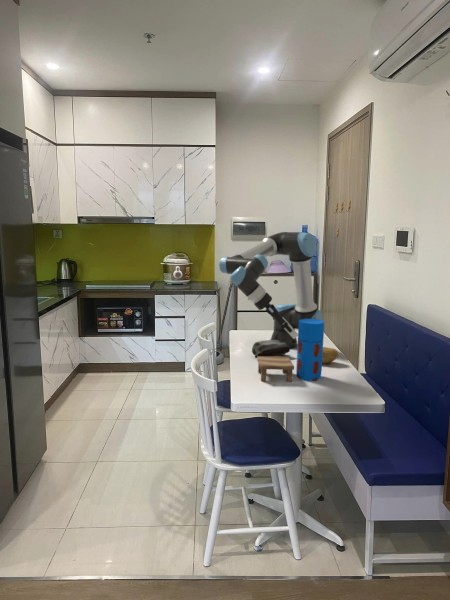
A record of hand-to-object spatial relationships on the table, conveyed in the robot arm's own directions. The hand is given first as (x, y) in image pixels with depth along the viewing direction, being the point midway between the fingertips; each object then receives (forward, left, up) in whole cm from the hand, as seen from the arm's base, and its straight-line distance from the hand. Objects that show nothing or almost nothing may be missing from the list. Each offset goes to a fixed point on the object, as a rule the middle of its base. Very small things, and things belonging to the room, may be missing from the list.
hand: (293, 333), depth 186 cm
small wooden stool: (-1, -7, -20) cm, 21 cm away
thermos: (-1, +8, -20) cm, 22 cm away
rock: (-31, -5, -20) cm, 37 cm away
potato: (-22, +20, -20) cm, 36 cm away
